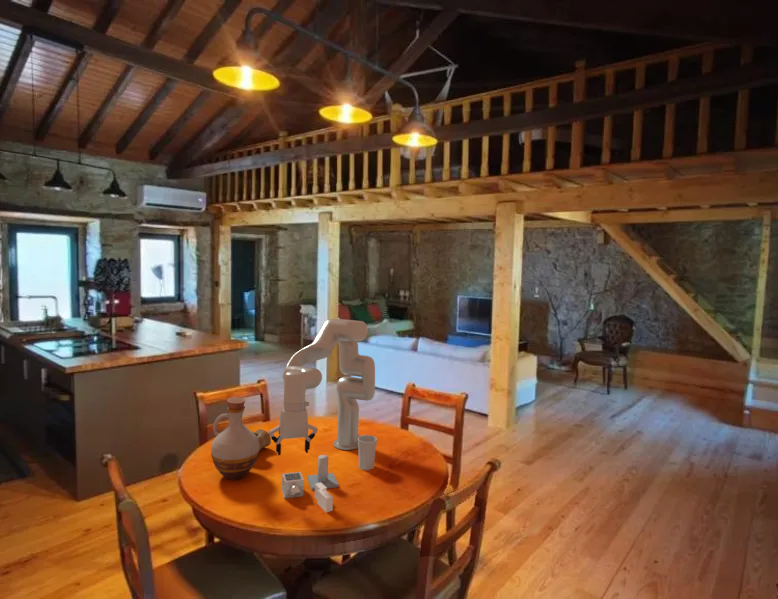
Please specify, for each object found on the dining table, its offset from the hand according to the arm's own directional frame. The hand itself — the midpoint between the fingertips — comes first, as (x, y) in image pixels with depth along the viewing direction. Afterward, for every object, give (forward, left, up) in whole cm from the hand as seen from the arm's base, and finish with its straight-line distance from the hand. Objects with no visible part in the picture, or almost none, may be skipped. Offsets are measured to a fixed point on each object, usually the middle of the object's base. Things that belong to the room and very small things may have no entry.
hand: (292, 452), depth 171 cm
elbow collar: (0, +1, -15) cm, 15 cm away
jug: (+20, -20, -15) cm, 32 cm away
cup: (-32, -14, -15) cm, 38 cm away
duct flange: (-12, -5, -15) cm, 20 cm away
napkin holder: (-10, +9, -16) cm, 21 cm away
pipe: (+11, -38, -15) cm, 43 cm away
